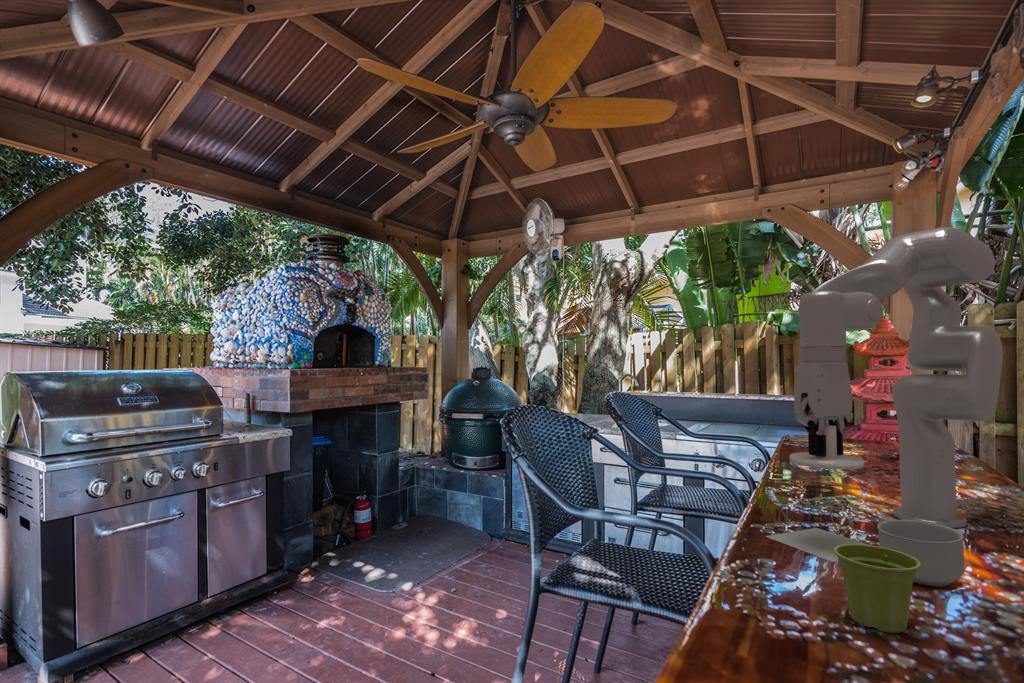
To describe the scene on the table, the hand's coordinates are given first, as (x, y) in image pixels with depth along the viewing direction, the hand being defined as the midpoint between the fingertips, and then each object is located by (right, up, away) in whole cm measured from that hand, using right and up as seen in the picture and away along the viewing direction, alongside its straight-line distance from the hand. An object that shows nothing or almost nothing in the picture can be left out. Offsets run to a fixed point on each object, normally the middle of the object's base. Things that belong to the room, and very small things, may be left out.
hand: (825, 453), depth 97 cm
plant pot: (-11, -16, -29) cm, 35 cm away
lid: (0, -2, 0) cm, 2 cm away
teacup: (+6, -17, -14) cm, 23 cm away
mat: (0, -17, 0) cm, 17 cm away
